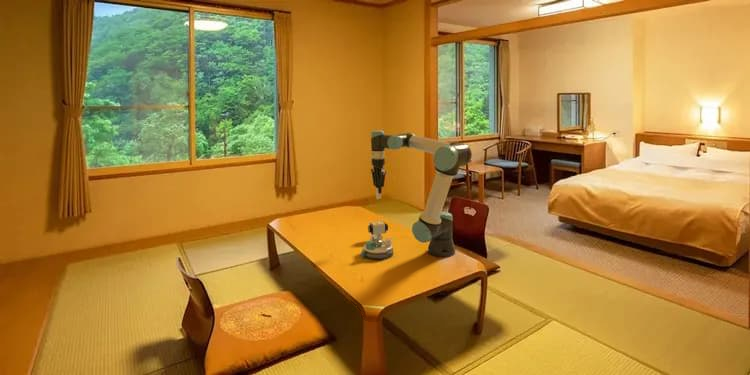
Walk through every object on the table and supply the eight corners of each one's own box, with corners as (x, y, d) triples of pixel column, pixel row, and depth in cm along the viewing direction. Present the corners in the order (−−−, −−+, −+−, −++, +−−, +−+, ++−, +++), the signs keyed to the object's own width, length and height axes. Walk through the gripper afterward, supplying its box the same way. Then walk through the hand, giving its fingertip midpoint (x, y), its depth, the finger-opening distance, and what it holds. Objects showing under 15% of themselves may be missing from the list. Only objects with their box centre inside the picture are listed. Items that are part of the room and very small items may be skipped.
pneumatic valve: (388, 240, 258) (388, 221, 256) (370, 242, 255) (369, 223, 252) (385, 237, 263) (385, 219, 261) (367, 239, 260) (367, 221, 258)
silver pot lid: (399, 253, 236) (399, 246, 236) (379, 263, 222) (379, 256, 222) (375, 247, 247) (375, 240, 246) (354, 256, 233) (354, 249, 232)
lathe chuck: (376, 242, 245) (376, 232, 244) (398, 248, 235) (397, 238, 234) (357, 250, 234) (357, 239, 232) (379, 256, 223) (379, 245, 222)
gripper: (366, 157, 244) (367, 197, 248) (378, 160, 233) (379, 201, 238) (377, 156, 247) (378, 195, 252) (389, 158, 237) (390, 199, 241)
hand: (378, 198), depth 245 cm, fingers closed
